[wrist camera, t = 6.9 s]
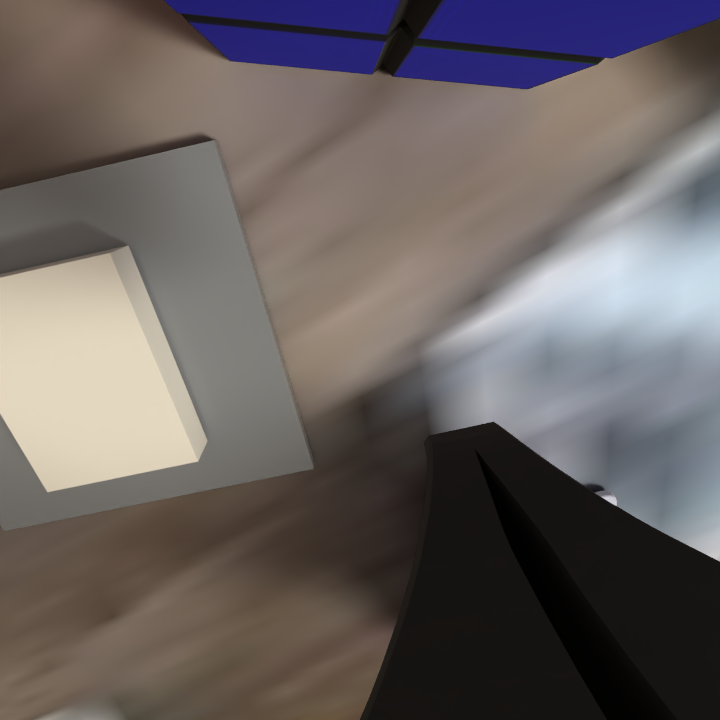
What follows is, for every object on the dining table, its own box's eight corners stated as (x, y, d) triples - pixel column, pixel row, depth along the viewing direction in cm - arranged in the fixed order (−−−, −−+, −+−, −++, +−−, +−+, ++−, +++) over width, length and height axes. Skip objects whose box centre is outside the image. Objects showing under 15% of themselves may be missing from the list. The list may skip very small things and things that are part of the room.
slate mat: (314, 462, 20) (313, 468, 20) (11, 523, 21) (4, 531, 20) (217, 140, 15) (213, 140, 15) (-181, 233, 16) (-197, 235, 15)
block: (198, 461, 18) (47, 492, 18) (208, 438, 19) (69, 466, 19) (109, 252, 14) (-72, 293, 15) (130, 244, 16) (-35, 281, 16)
